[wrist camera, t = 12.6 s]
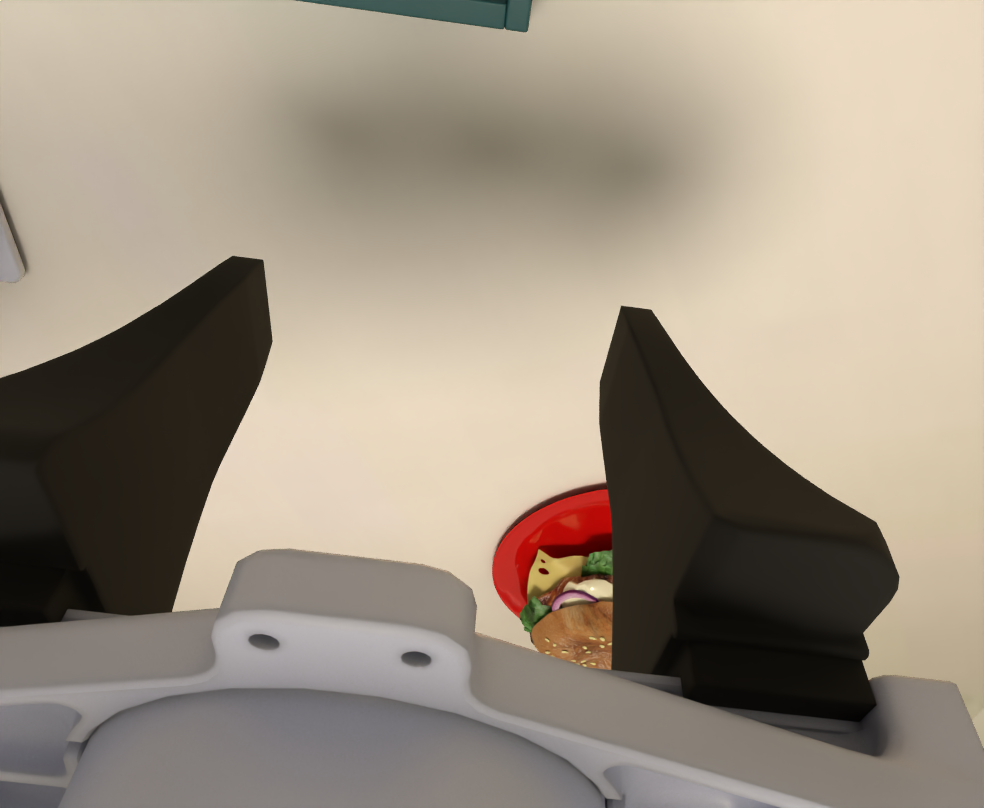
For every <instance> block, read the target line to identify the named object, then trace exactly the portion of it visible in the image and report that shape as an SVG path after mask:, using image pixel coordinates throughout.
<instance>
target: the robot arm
mask: <svg viewBox="0 0 984 808" xmlns="http://www.w3.org/2000/svg"><path fill="white" fill-rule="evenodd" d="M24 274H25V268H24V266H23V263H22V260H21V258H20V255H19V252H18V249H17V247H16V244H15V241H14V239H13V236H12V233H11V231H10V228H9V225H8V223H7V220H6V217H5V214H4V212H3V209H2V206H1V204H0V281H2V282H10V283H15V282H18V281H19V280H20V279H21V278H22V277H23V276H24ZM272 342H273V341H272V332H271V323H270V315H269V306H268V297H267V288H266V279H265V271H264V262H263V260H261V259H253V258H245V257H237V256H232V257H230V258H228V259H227V260H225V261H224V262H222V263H221V264H219V265H218V266H216V267H215V268H213V269H212V270H210V271H209V272H208V273H206V274H205V275H203V276H202V277H200V278H199V279H197V280H196V281H195V282H193V283H192V284H190V285H189V286H187V287H186V288H184V289H183V290H181V291H180V292H178V293H177V294H175V295H174V296H172V297H171V298H169V299H168V300H166V301H165V302H163V303H162V304H160V305H158V306H157V307H155V308H153V309H152V310H150V311H148V312H147V313H145V314H143V315H142V316H140V317H138V318H137V319H135V320H133V321H132V322H130V323H128V324H127V325H125V326H123V327H122V328H120V329H118V330H116V331H114V332H112V333H110V334H108V335H106V336H104V337H102V338H100V339H98V340H96V341H94V342H92V343H90V344H88V345H86V346H84V347H81V348H79V349H77V350H75V351H72V352H70V353H68V354H65V355H62V356H60V357H57V358H55V359H52V360H50V361H47V362H45V363H42V364H39V365H37V366H34V367H32V368H29V369H26V370H24V371H21V372H18V373H15V374H11V375H8V376H5V377H2V378H0V808H984V748H983V746H982V744H981V741H980V739H979V737H978V734H977V732H976V729H975V727H974V725H973V722H972V720H971V718H970V715H969V713H968V710H967V708H966V706H965V703H964V701H963V699H962V696H961V694H960V692H959V689H958V687H957V685H956V684H954V683H952V682H950V681H942V680H933V679H925V678H916V677H907V676H898V675H882V676H878V677H874V678H872V679H870V680H868V677H867V674H866V671H865V668H864V665H863V662H862V660H866V659H867V658H868V656H869V649H868V646H867V643H866V640H865V637H864V634H863V632H864V631H865V630H866V629H867V628H868V627H869V625H870V624H871V623H872V622H873V621H874V620H875V619H876V617H877V616H878V615H879V614H880V613H881V612H882V611H883V609H884V608H885V607H886V606H887V605H888V604H889V602H890V601H891V600H892V598H893V596H894V595H895V593H896V591H897V590H898V584H899V574H898V572H897V569H896V567H895V564H894V562H893V559H892V556H891V554H890V551H889V548H888V546H887V543H886V541H885V539H884V537H883V535H882V533H881V531H880V529H879V527H878V525H877V523H876V522H875V521H873V520H872V519H870V518H868V517H866V516H865V515H863V514H861V513H859V512H858V511H856V510H854V509H853V508H851V507H849V506H847V505H846V504H844V503H842V502H841V501H839V500H837V499H835V498H834V497H832V496H830V495H829V494H827V493H826V492H824V491H823V490H821V489H820V488H818V487H817V486H815V485H814V484H813V483H811V482H810V481H808V480H807V479H805V478H804V477H802V476H801V475H800V474H798V473H797V472H796V471H794V470H793V469H791V468H790V467H789V466H787V465H786V464H785V463H784V462H782V461H781V460H780V459H779V458H778V457H776V456H775V455H774V454H773V453H771V452H770V451H769V450H768V449H767V448H765V447H764V446H763V445H762V444H761V443H760V442H758V441H757V440H756V439H755V438H754V437H753V436H752V435H751V434H750V433H749V432H748V431H747V430H746V429H744V428H743V427H742V426H741V425H740V424H739V423H738V422H737V421H736V420H735V419H734V418H733V417H732V416H731V415H730V414H729V413H728V412H727V410H726V409H725V408H724V407H723V406H722V405H721V404H720V403H719V402H718V400H717V399H716V398H715V397H714V396H713V395H712V393H711V392H710V391H709V390H708V389H707V388H706V386H705V385H704V384H703V383H702V381H701V380H700V379H699V378H698V376H697V375H696V374H695V372H694V371H693V370H692V368H691V367H690V366H689V364H688V363H687V362H686V360H685V359H684V357H683V356H682V355H681V353H680V352H679V350H678V349H677V347H676V346H675V344H674V343H673V341H672V340H671V338H670V337H669V335H668V334H667V332H666V331H665V329H664V328H663V326H662V325H661V323H660V322H659V320H658V319H657V317H656V316H655V315H654V313H653V312H652V310H649V309H642V308H634V307H626V306H621V309H620V313H619V316H618V320H617V323H616V327H615V330H614V334H613V337H612V341H611V344H610V348H609V352H608V355H607V359H606V362H605V366H604V369H603V373H602V376H601V380H600V400H599V425H600V433H601V441H602V450H603V458H604V465H605V473H606V480H607V488H608V496H609V503H610V511H611V524H612V563H613V612H612V661H611V670H607V669H598V668H589V667H585V666H582V665H578V664H575V663H572V662H569V661H566V660H563V659H559V658H556V657H553V656H550V655H547V654H544V653H540V652H537V651H534V650H531V649H528V648H525V647H521V646H518V645H515V644H512V643H509V642H506V641H502V640H499V639H496V638H493V637H490V636H487V635H483V634H480V633H477V632H475V621H476V610H477V605H476V602H475V598H474V595H473V591H472V589H471V588H470V587H469V586H468V585H466V584H465V583H464V582H462V581H461V580H460V579H458V578H457V577H456V576H454V575H453V574H452V573H450V572H449V571H445V570H442V569H438V568H434V567H431V566H427V565H424V564H417V563H408V562H400V561H391V560H382V559H374V558H365V557H356V556H348V555H339V554H331V553H322V552H313V551H305V550H296V549H271V550H260V551H257V552H255V553H253V554H251V555H249V556H247V557H245V558H244V559H242V560H240V561H238V562H237V564H236V566H235V569H234V572H233V574H232V577H231V580H230V582H229V585H228V588H227V590H226V593H225V595H224V598H223V601H222V603H221V606H220V608H214V609H203V610H192V611H180V612H172V609H173V605H174V602H175V599H176V595H177V592H178V588H179V585H180V581H181V578H182V574H183V571H184V567H185V564H186V561H187V558H188V554H189V551H190V548H191V545H192V542H193V539H194V536H195V532H196V529H197V526H198V523H199V520H200V517H201V514H202V511H203V508H204V506H205V503H206V500H207V497H208V494H209V491H210V488H211V485H212V482H213V480H214V478H215V475H216V473H217V471H218V468H219V466H220V464H221V462H222V460H223V458H224V456H225V454H226V452H227V449H228V447H229V445H230V443H231V441H232V439H233V437H234V435H235V433H236V431H237V429H238V427H239V425H240V423H241V421H242V419H243V417H244V415H245V413H246V411H247V408H248V406H249V404H250V402H251V400H252V398H253V396H254V394H255V392H256V390H257V387H258V385H259V383H260V380H261V377H262V374H263V371H264V368H265V365H266V362H267V359H268V355H269V352H270V348H271V345H272Z"/></svg>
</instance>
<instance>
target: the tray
mask: <svg viewBox="0 0 984 808" xmlns="http://www.w3.org/2000/svg"><path fill="white" fill-rule="evenodd" d="M296 1H303V2H311V3H318V4H325V5H332V6H339V7H346V8H353V9H361V10H368V11H375V12H382V13H389V14H396V15H403V16H410V17H418V18H425V19H432V20H439V21H446V22H453V23H460V24H468V25H475V26H482V27H489V28H496V29H504V27H505V29H507V30H512V31H519V32H527V31H528V26H529V19H530V11H531V4H532V0H296Z"/></svg>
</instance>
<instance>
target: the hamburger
mask: <svg viewBox="0 0 984 808" xmlns="http://www.w3.org/2000/svg"><path fill="white" fill-rule="evenodd" d="M492 574H493V581H494V585H495V588H496V590H497V593H498V595H499V596H500V598H501V599H502V601H503V602H504V604H505V605H506V606H507V607H508V608H509V609H510V610H511V611H512V612H513V613H514V614H515V615H516V616H517V617H519V618H520V620H521V622H522V624H523V625H524V626H525V627H524V630H525V631H527V632H530V637H531V642H532V643H533V644H534V645H535V647H536V648H537V650H538V651H539V652H540V653H544V654H547V655H550V656H553V657H556V658H559V659H563V660H566V661H569V662H572V663H575V664H578V665H582V666H585V667H589V668H598V669H607V670H611V661H612V612H613V563H612V524H611V511H610V503H609V496H608V489H604V490H598V491H592V492H587V493H583V494H579V495H575V496H572V497H569V498H565V499H563V500H560V501H557V502H555V503H552V504H550V505H548V506H546V507H544V508H542V509H540V510H538V511H536V512H534V513H533V514H531V515H529V516H528V517H527V518H525V519H524V520H522V521H521V522H520V523H519V524H517V525H516V526H515V527H514V528H513V529H512V530H511V531H510V532H509V533H508V534H507V535H506V537H505V538H504V539H503V541H502V542H501V544H500V546H499V547H498V549H497V552H496V554H495V557H494V561H493V567H492Z"/></svg>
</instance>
